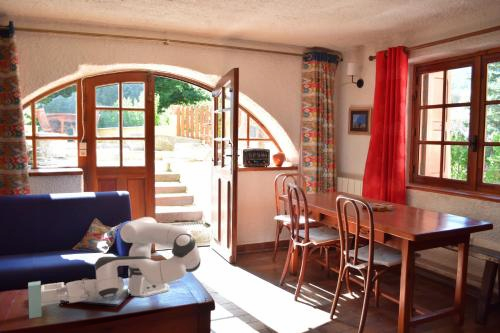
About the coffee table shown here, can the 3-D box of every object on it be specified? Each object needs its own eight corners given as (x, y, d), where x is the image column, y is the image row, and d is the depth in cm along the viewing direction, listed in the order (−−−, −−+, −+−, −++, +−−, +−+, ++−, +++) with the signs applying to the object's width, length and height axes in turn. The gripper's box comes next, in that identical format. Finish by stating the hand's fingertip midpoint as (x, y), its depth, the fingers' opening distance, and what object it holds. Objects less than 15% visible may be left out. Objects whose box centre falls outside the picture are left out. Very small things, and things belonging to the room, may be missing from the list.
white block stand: (73, 290, 225) (72, 278, 225) (76, 302, 209) (75, 289, 209) (31, 296, 216) (30, 284, 216) (30, 309, 200) (30, 295, 200)
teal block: (41, 312, 196) (40, 281, 195) (41, 316, 192) (40, 284, 191) (29, 314, 194) (28, 282, 193) (29, 318, 190) (28, 286, 189)
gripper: (90, 303, 193) (57, 308, 186) (85, 289, 211) (55, 294, 205) (90, 289, 192) (57, 294, 186) (85, 277, 211) (55, 281, 204)
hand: (56, 294), depth 196 cm, fingers open, 8 cm apart
